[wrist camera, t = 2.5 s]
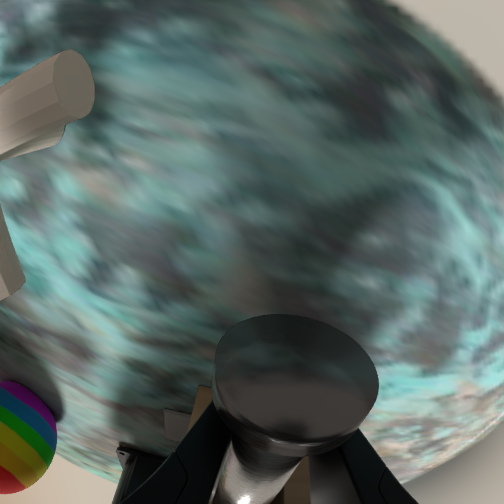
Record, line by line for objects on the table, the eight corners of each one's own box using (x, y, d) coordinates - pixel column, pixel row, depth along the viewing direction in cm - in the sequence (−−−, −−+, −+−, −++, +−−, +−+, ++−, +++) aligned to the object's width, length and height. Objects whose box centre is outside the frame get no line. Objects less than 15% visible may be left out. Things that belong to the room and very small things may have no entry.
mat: (307, 455, 19) (307, 458, 19) (166, 435, 19) (165, 438, 18) (323, 431, 17) (323, 435, 17) (164, 408, 17) (163, 412, 17)
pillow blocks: (270, 470, 20) (266, 563, 13) (192, 459, 20) (174, 552, 12) (306, 401, 16) (314, 538, 9) (198, 385, 16) (166, 524, 8)
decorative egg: (40, 432, 22) (4, 505, 13) (-16, 374, 19) (-66, 445, 10) (85, 431, 20) (44, 526, 11) (16, 361, 17) (-49, 456, 8)
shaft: (257, 509, 16) (254, 557, 12) (198, 501, 16) (190, 549, 12) (360, 324, 9) (395, 434, 5) (226, 303, 9) (201, 420, 5)
